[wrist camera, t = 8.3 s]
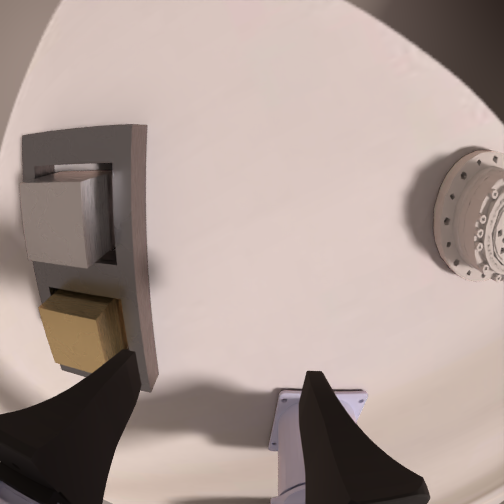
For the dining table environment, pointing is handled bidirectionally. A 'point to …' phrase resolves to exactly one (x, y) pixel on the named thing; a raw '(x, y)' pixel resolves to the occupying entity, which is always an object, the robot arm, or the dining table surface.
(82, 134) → the grey tray
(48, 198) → the silver gray cube
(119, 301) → the brushed gold cube
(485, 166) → the mechanical component
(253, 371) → the dining table surface
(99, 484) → the robot arm
